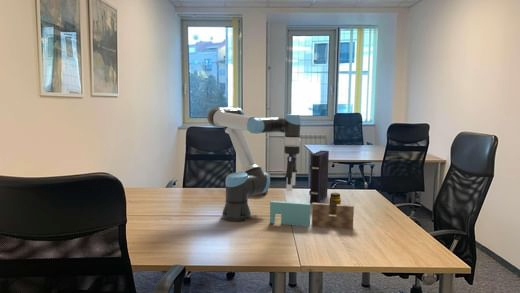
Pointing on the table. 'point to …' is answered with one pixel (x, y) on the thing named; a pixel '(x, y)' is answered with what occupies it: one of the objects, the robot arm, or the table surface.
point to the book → (319, 176)
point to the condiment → (334, 203)
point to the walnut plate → (332, 216)
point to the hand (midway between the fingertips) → (290, 187)
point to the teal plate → (291, 213)
